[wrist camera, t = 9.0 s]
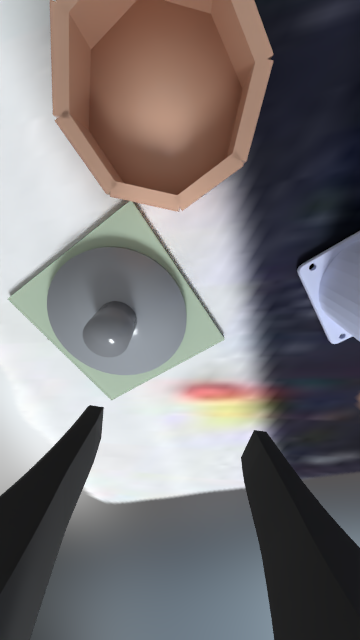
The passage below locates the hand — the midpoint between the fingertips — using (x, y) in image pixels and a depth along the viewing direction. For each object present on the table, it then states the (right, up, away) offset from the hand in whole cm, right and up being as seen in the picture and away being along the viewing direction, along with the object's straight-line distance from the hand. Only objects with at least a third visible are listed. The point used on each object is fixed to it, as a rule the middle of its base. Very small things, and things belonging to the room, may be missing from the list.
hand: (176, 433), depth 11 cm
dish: (-1, +18, +3) cm, 18 cm away
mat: (-5, +6, +9) cm, 12 cm away
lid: (-5, +6, +8) cm, 11 cm away
